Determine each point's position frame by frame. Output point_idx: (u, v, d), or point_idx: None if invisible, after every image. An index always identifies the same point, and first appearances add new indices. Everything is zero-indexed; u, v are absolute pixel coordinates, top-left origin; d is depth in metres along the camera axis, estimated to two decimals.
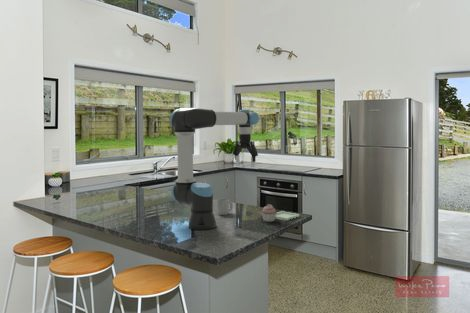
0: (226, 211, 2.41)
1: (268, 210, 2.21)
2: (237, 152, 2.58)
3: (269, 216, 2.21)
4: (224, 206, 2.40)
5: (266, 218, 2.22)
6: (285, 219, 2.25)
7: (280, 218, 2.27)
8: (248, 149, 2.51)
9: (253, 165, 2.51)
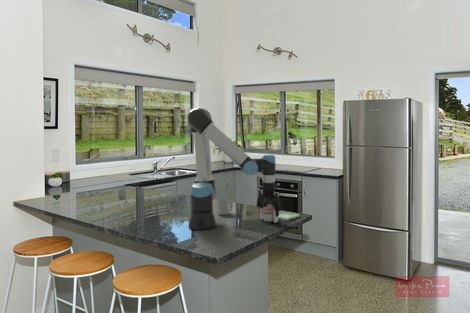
0: (226, 211, 2.41)
1: (268, 210, 2.21)
2: (261, 204, 2.26)
3: (269, 216, 2.21)
4: (224, 206, 2.40)
5: (266, 218, 2.22)
6: (285, 219, 2.25)
7: (280, 218, 2.27)
8: (272, 201, 2.21)
9: (276, 220, 2.21)
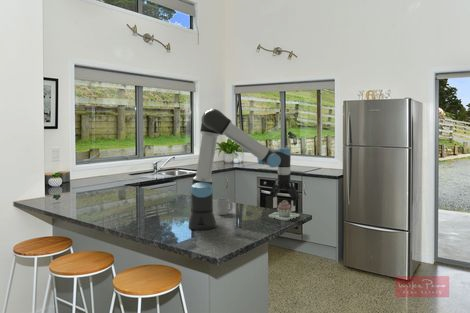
0: (226, 211, 2.41)
1: (284, 206, 2.29)
2: (275, 193, 2.35)
3: (285, 212, 2.29)
4: (224, 206, 2.40)
5: (282, 213, 2.30)
6: (285, 219, 2.25)
7: (280, 218, 2.27)
8: (288, 191, 2.28)
9: (293, 209, 2.28)
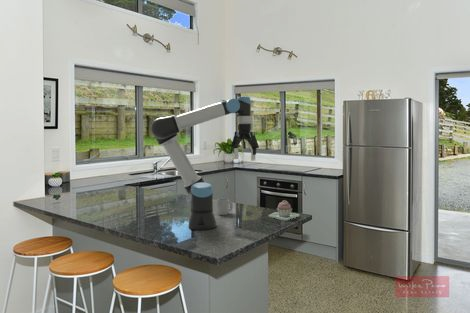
0: (226, 211, 2.41)
1: (284, 206, 2.29)
2: (236, 144, 2.32)
3: (285, 212, 2.29)
4: (224, 206, 2.40)
5: (282, 213, 2.30)
6: (285, 219, 2.25)
7: (280, 218, 2.27)
8: (248, 140, 2.25)
9: (253, 158, 2.25)
